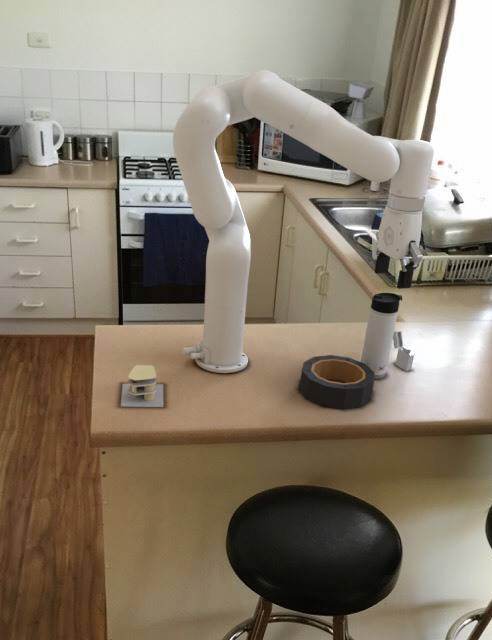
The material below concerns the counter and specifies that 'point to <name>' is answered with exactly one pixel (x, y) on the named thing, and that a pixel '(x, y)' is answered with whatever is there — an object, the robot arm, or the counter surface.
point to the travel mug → (380, 332)
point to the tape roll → (334, 392)
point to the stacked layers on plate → (142, 388)
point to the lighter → (402, 352)
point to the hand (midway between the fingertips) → (392, 280)
